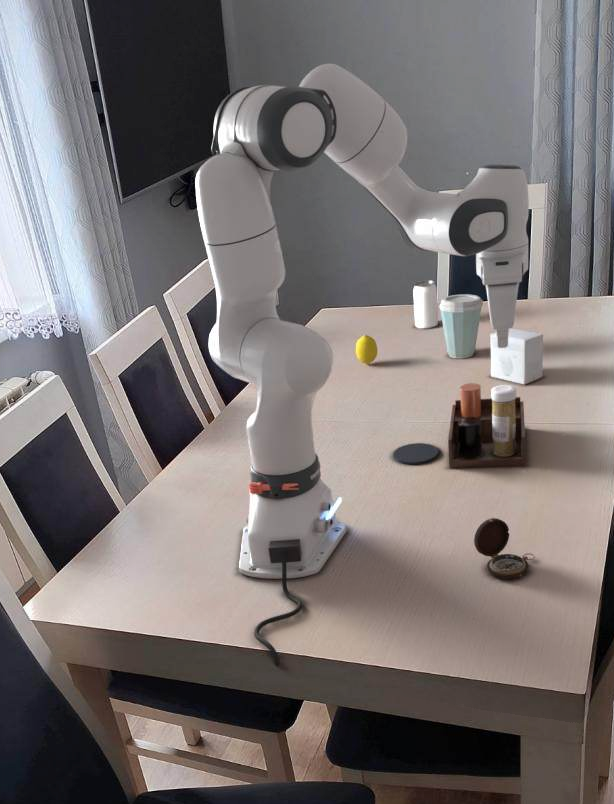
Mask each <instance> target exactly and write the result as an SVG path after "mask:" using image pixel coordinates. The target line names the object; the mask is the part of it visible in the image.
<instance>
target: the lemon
mask: <svg viewBox="0 0 614 804" xmlns="http://www.w3.org/2000/svg"><path fill="white" fill-rule="evenodd" d="M355 355H356V358H357V359H358V360H359V361H360V362H361V363H363V364H365V365H366V366H369V365H370V364H371V363H372V362H374V361H375V360H376V358H377V355H378V346H377V342H376V340H375V339H374V338H373V337H372V336H369V335H367V334H364V335H363V336H361V337H360V338H359V339H357V341H356V344H355Z"/></svg>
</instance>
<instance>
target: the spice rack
mask: <svg viewBox="0 0 614 804" xmlns="http://www.w3.org/2000/svg"><path fill="white" fill-rule="evenodd" d="M454 403H455V404H452V407H451V415H450V424H449V429H448V431H449V432H448V438H447V442H448V443H447V444H448V465H449V469H461V468H462V469H463V468H465V469H467V468H495V467H526V428H525V427H526V425H525V407H524V406H525V405H524V404H525V403H524V401H521V396H516V400H515V418H516V439H515V440H516V442H520V455H521V456H517V457H515V456H514V457H513V456H512V457H487V458H486V457H485V458H472V459H467V458H458V459H457V458H455V450H456V444H459V434H458V421H459V420H460V419H463V417H462V416H461V399H455V402H454ZM477 418H479V419H481V429H482V443H493V435H492V399H491V397H490V398H481V416H479V417H477ZM454 458H455V459H454Z"/></svg>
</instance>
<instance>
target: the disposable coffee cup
mask: <svg viewBox="0 0 614 804" xmlns="http://www.w3.org/2000/svg"><path fill="white" fill-rule="evenodd" d="M483 305H484V301H483V299H482V297H480V296H478V295H476V294H469V293H465V294H462V293H461V294H452V295H448V296H444V297H442V298H441V301H440V303H439V305H438V306H439V307H438V309H440V315H441V321H442V327H443V334H444V340H445V346H446V351H447V352H446V353H447V354H448V356H449V357H450V358H452V359H460V360H461V359H468V358H471V357H472V356H473V355H474V354H475V352H476V346H477V339H478V334H479V333H478V332H479V326H480V320H481V313H482V307H483Z"/></svg>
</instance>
